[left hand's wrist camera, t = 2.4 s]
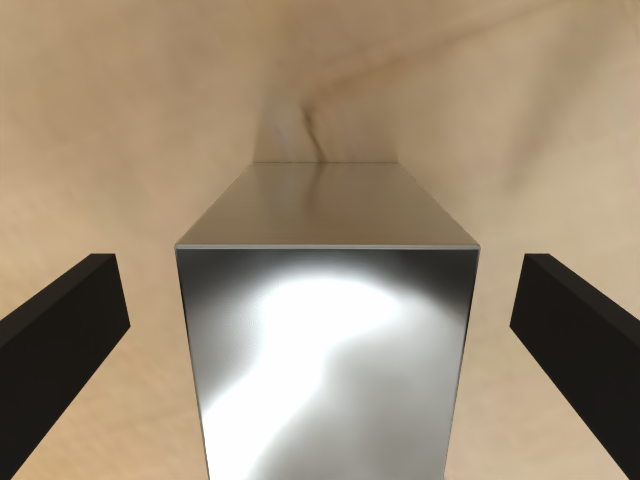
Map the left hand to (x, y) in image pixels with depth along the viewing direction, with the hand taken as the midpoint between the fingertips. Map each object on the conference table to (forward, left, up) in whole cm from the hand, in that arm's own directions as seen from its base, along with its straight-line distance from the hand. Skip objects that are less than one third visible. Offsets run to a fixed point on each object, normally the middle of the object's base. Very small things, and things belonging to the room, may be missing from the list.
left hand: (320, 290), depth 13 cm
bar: (-2, +8, -4) cm, 10 cm away
